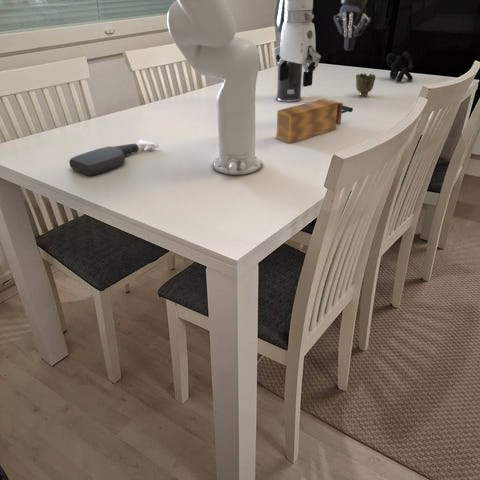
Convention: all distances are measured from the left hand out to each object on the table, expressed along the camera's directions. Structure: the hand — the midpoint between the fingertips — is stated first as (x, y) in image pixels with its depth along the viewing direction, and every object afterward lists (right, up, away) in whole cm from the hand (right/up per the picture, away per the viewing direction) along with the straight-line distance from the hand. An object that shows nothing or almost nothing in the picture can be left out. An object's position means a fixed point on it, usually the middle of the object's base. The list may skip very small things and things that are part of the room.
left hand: (295, 82), depth 129 cm
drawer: (+10, -9, +15) cm, 20 cm away
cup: (+33, +12, +49) cm, 60 cm away
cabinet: (+5, -12, +12) cm, 17 cm away
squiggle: (+56, +26, +71) cm, 94 cm away
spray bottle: (-50, -23, -4) cm, 56 cm away
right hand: (+17, +13, +8) cm, 23 cm away
